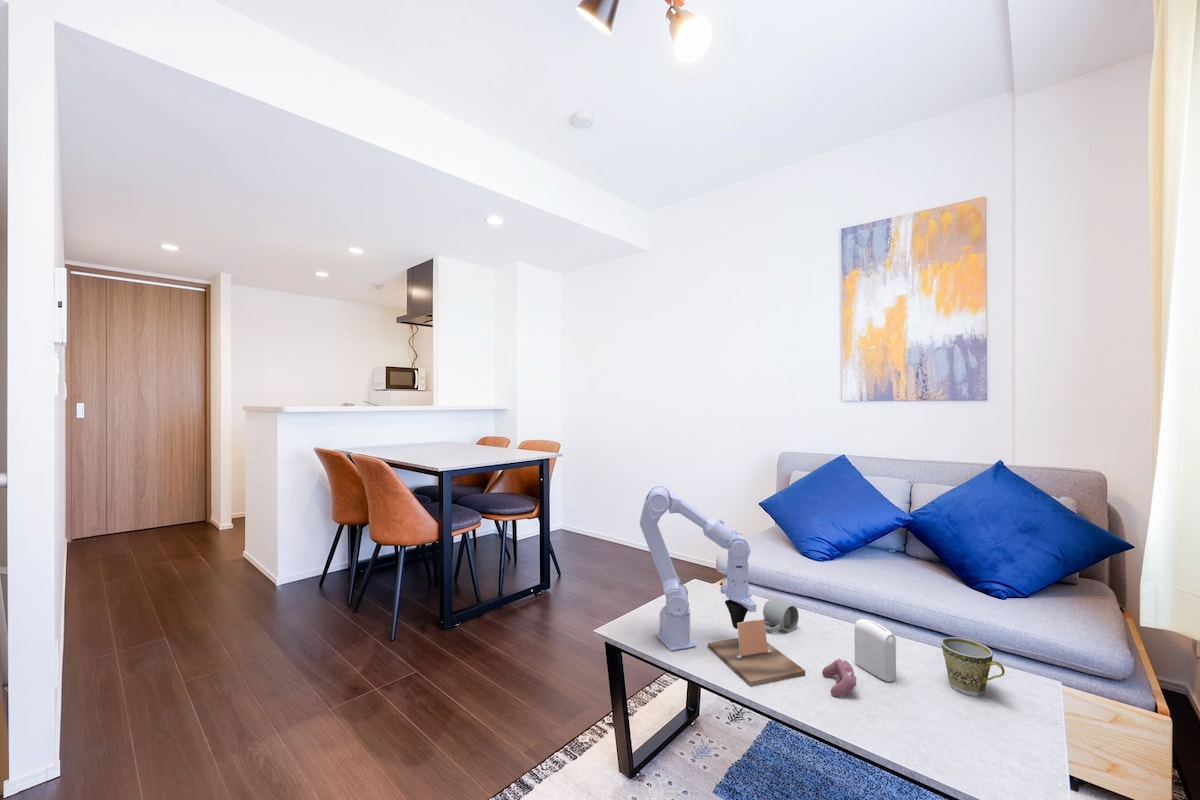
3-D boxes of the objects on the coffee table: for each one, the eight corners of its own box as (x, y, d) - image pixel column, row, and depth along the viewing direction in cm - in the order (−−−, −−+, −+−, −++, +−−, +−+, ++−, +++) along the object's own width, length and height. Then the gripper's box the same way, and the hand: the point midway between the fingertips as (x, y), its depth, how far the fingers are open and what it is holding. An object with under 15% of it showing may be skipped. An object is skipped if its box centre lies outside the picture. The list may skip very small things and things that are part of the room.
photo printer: (851, 663, 132) (851, 616, 132) (864, 660, 134) (864, 613, 133) (886, 684, 122) (886, 633, 122) (899, 680, 124) (899, 630, 124)
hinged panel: (733, 623, 133) (735, 624, 133) (766, 618, 136) (768, 619, 136) (736, 658, 132) (738, 659, 131) (769, 652, 135) (771, 653, 134)
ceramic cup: (931, 682, 123) (931, 641, 123) (957, 673, 127) (957, 633, 127) (990, 712, 111) (990, 667, 111) (1017, 701, 115) (1017, 658, 115)
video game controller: (848, 706, 116) (863, 680, 116) (829, 695, 117) (844, 669, 116) (837, 682, 126) (850, 658, 125) (819, 672, 127) (833, 648, 126)
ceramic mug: (776, 618, 159) (776, 594, 158) (799, 628, 152) (799, 603, 152) (754, 627, 153) (754, 602, 152) (777, 638, 146) (777, 612, 146)
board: (707, 647, 140) (707, 642, 140) (756, 638, 145) (756, 634, 145) (750, 686, 121) (750, 681, 121) (805, 675, 126) (805, 670, 126)
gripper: (766, 586, 135) (765, 637, 135) (735, 568, 149) (735, 614, 149) (743, 589, 133) (743, 641, 133) (714, 571, 146) (714, 618, 146)
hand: (737, 627), depth 141 cm, fingers closed
